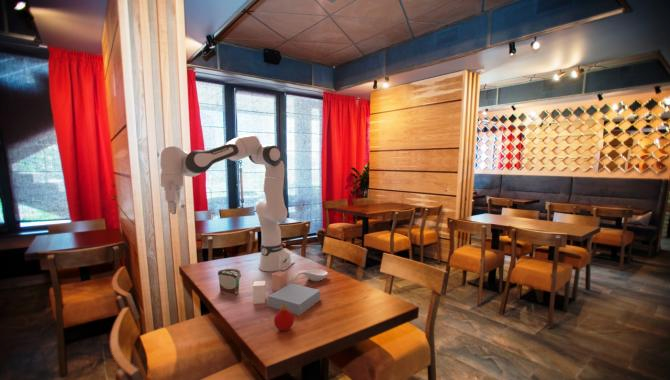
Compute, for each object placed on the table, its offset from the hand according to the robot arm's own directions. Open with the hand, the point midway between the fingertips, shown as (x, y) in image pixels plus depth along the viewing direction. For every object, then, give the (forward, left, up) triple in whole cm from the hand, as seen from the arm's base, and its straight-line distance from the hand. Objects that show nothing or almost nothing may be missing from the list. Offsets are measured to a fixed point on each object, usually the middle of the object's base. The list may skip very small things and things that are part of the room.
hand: (172, 213), depth 131 cm
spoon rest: (-45, +41, -39) cm, 73 cm away
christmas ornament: (-4, +58, -39) cm, 70 cm away
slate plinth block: (-23, +49, -39) cm, 67 cm away
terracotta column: (-31, +34, -39) cm, 60 cm away
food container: (-18, +16, -39) cm, 46 cm away
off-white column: (-17, +34, -39) cm, 54 cm away
